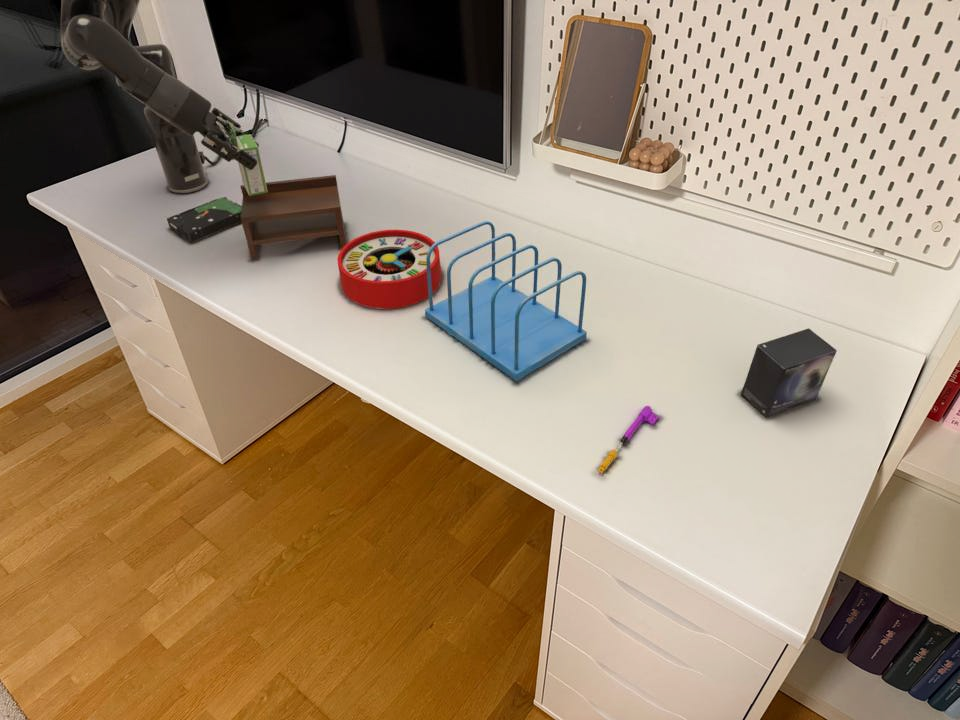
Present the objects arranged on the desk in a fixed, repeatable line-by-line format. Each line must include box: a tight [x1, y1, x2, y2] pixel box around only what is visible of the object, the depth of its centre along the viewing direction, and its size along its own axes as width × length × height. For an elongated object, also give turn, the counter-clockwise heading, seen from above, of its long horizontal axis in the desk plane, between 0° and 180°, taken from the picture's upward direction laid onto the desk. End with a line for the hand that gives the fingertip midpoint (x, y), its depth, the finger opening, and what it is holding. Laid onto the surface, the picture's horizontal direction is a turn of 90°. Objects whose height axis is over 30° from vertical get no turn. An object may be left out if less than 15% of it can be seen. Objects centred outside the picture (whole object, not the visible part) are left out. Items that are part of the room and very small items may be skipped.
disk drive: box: [166, 196, 242, 243], centre depth 158 cm, size 10×3×15 cm
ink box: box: [227, 120, 268, 196], centre depth 137 cm, size 7×4×13 cm, turn 26°
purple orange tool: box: [597, 405, 660, 474], centre depth 104 cm, size 3×1×16 cm
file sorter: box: [424, 220, 587, 382], centre depth 122 cm, size 25×17×15 cm
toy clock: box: [336, 229, 442, 310], centre depth 138 cm, size 20×6×20 cm
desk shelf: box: [240, 174, 347, 261], centre depth 148 cm, size 11×20×12 cm, turn 102°
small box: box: [740, 328, 838, 418], centre depth 108 cm, size 11×6×10 cm, turn 114°
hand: (255, 157), depth 138 cm, fingers closed on ink box, 7 cm apart
